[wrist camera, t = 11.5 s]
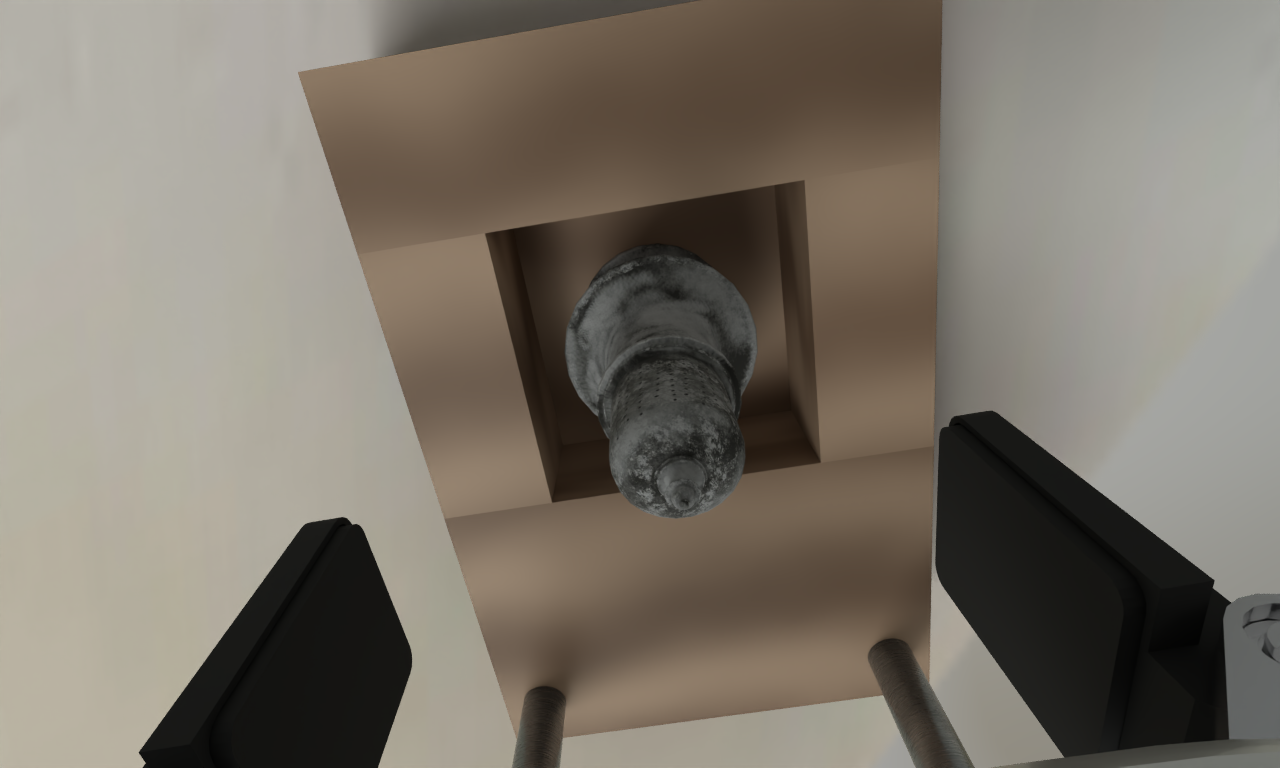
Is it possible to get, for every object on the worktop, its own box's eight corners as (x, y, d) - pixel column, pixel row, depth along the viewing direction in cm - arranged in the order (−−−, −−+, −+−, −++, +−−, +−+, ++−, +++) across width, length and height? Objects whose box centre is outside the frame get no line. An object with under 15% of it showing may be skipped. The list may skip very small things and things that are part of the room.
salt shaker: (551, 259, 22) (476, 402, 11) (720, 214, 21) (820, 316, 10) (599, 410, 24) (576, 658, 13) (753, 372, 24) (864, 596, 13)
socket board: (370, 82, 21) (298, 72, 16) (869, -6, 20) (943, -44, 15) (534, 646, 30) (518, 743, 25) (880, 598, 29) (929, 688, 24)
